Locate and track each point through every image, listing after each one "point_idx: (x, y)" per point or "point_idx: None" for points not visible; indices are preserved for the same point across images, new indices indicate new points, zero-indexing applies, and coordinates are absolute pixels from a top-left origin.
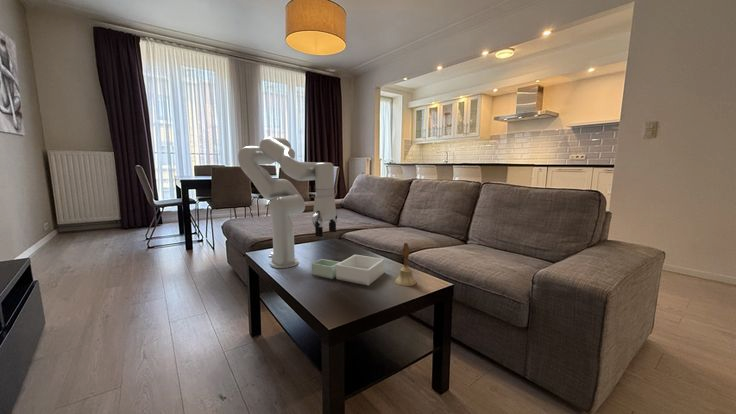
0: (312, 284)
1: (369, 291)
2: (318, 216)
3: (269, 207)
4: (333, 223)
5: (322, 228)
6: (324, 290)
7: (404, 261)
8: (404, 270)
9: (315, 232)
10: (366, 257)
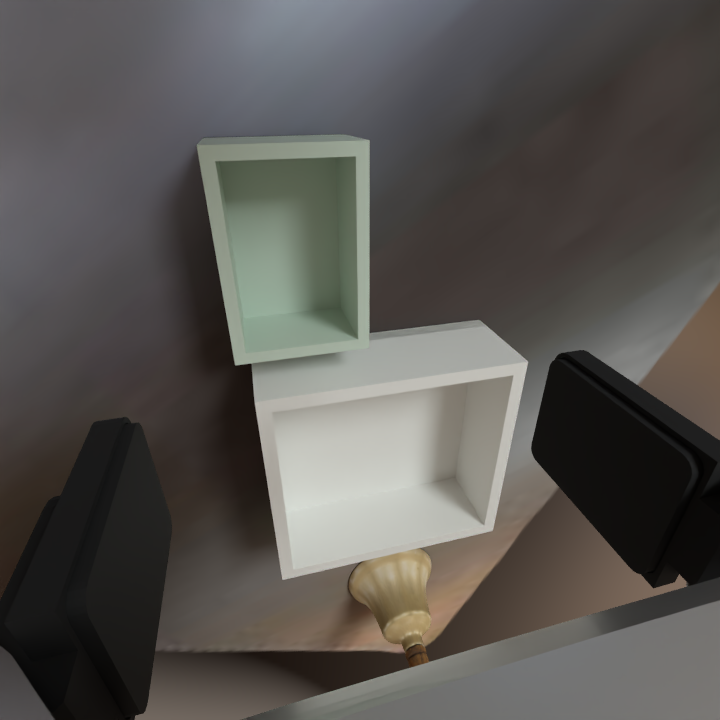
0: (64, 278)
1: (220, 546)
2: None
3: None
4: (647, 552)
5: (135, 696)
6: (59, 402)
7: None
8: (387, 636)
9: (74, 471)
10: (497, 443)
